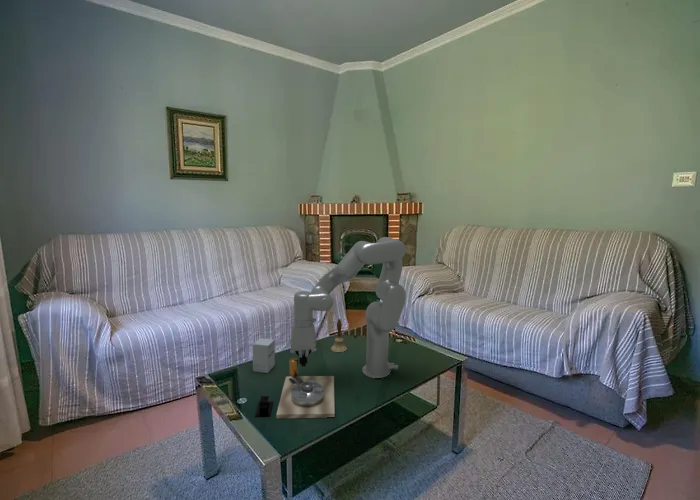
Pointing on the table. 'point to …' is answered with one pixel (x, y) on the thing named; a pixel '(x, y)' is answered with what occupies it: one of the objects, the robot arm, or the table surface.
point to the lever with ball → (304, 388)
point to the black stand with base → (264, 407)
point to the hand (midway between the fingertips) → (303, 365)
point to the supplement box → (263, 355)
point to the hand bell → (339, 340)
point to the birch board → (317, 411)
